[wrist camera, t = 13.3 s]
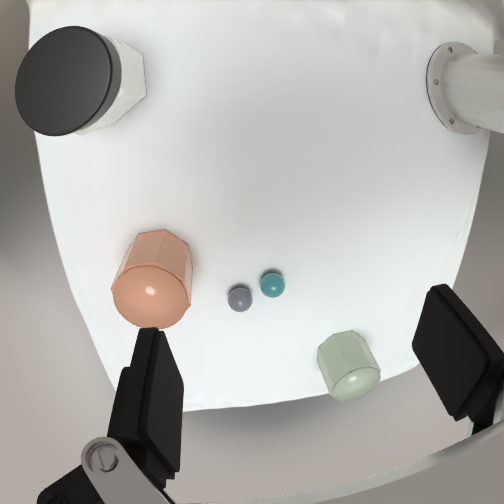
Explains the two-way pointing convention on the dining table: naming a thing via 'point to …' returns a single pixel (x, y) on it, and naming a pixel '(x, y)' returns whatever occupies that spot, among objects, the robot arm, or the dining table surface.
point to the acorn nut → (348, 366)
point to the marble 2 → (272, 285)
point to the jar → (78, 82)
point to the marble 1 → (240, 299)
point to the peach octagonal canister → (154, 280)
